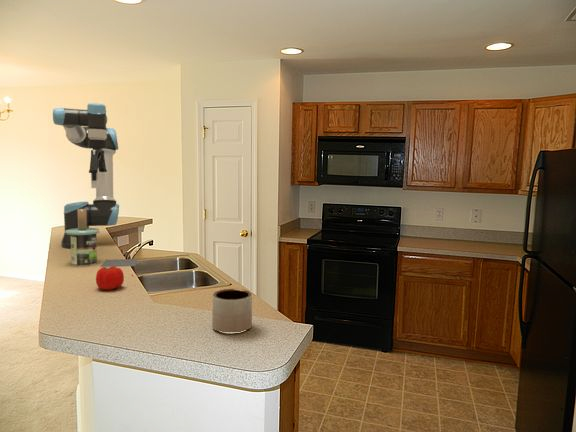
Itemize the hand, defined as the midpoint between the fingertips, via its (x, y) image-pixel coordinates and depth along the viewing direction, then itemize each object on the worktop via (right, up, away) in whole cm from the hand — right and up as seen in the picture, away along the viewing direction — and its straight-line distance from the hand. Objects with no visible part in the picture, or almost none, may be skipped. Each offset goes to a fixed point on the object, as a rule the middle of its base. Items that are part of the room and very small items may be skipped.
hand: (98, 187), depth 189 cm
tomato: (+22, -39, -40) cm, 60 cm away
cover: (-3, -20, -8) cm, 22 cm away
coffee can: (-4, -34, -6) cm, 35 cm away
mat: (+11, -34, -4) cm, 36 cm away
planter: (+70, -44, -73) cm, 110 cm away
